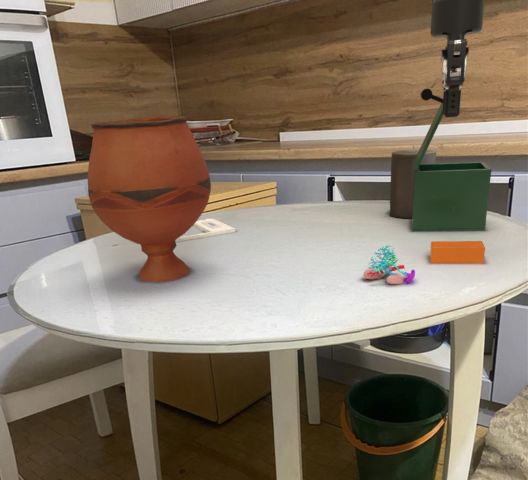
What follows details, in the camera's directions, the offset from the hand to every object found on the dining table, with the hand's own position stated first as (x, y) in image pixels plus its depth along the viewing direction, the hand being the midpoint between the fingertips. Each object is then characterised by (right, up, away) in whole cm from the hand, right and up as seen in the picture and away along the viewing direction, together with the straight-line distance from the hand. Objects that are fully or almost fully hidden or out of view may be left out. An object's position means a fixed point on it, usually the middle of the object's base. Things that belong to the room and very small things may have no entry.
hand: (450, 115), depth 87 cm
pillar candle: (+4, -7, +36) cm, 37 cm away
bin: (+7, -13, +23) cm, 28 cm away
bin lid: (+3, +4, +16) cm, 17 cm away
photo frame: (-48, -12, +33) cm, 60 cm away
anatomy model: (-12, -28, -6) cm, 31 cm away
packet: (+1, -24, +1) cm, 24 cm away
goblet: (-48, -26, +4) cm, 54 cm away
